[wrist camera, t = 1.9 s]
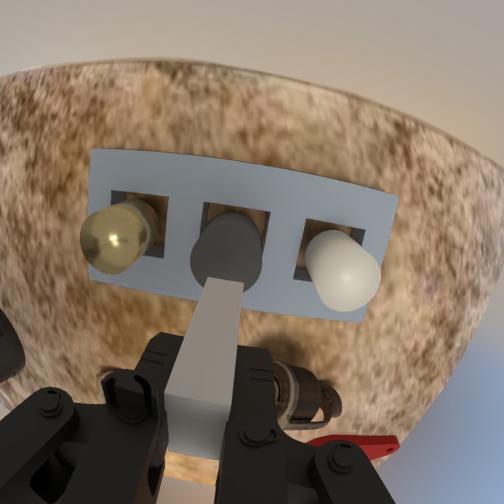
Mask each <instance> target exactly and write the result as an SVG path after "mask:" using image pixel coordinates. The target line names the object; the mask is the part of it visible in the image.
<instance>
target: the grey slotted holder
mask: <svg viewBox="0 0 504 504" xmlns="http://www.w3.org/2000/svg"><path fill="white" fill-rule="evenodd" d="M125 192H134V193H143V194H151V195H159V196H167V197H169V201H168V211H167V222H166V234H165V247H164V246H158V245H152V246H151V247H150V248H149V249H148V250H147V251H146V252H145V253H144V254H143V255H142V256H140V257H139V258H138V259H137V260H136V261H135V262H134V263H133V264H132V265H131V266H130V267H129V268H128V269H127V270H125V271H124V272H122V273H120V274H116V275H108V274H104V273H101V272H99V271H98V270H96V269H95V268H93V267H92V266H91V265H90V264H89V262H88V270H89V279H90V280H94V281H99V282H103V283H107V284H112V285H116V286H121V287H126V288H130V289H135V290H140V291H145V292H150V293H155V294H160V295H165V296H171V297H176V298H181V299H187V300H193V301H199V298H200V296H201V293H202V291H203V287H202V286H201V285H200V284H199V283H198V282H197V281H196V279H195V278H194V276H193V273H192V271H191V267H190V255H191V251H192V248H193V246H194V244H195V243H196V241H197V240H198V238H199V237H200V236H201V234H202V233H203V231H204V230H205V226H206V218H207V211H208V203H209V202H211V203H218V204H225V205H231V206H238V207H244V208H250V209H256V210H263V211H268V213H267V218H266V224H265V229H264V235H263V241H262V246H261V252H262V270H261V274H260V276H259V278H258V280H257V282H256V283H255V284H254V285H253V286H252V287H251V288H250V289H249V290H247V291H245V292H244V293H243V295H242V305H241V308H242V309H249V310H256V311H263V312H270V313H278V314H286V315H294V316H302V317H311V318H320V319H329V320H339V321H350V322H361V323H362V321H363V318H364V316H365V313H366V310H367V307H368V304H369V302H370V301H369V302H368V303H367V304H365V305H364V306H362V307H361V308H359V309H356V310H353V311H349V312H340V311H335V310H333V309H331V308H329V307H327V306H326V305H325V304H324V303H323V302H322V300H321V298H320V296H319V294H318V292H317V290H316V287H315V285H314V283H313V281H312V279H311V277H310V274H309V272H308V270H307V269H304V268H297V267H296V263H297V258H298V254H299V249H300V245H301V240H302V235H303V231H304V226H305V221H306V218H308V219H314V220H319V221H324V222H329V223H335V224H340V225H345V226H350V227H353V229H352V233H351V238H352V239H353V240H354V241H356V242H357V243H358V244H359V245H360V246H361V247H362V248H364V249H365V250H366V251H367V252H368V253H369V254H370V255H371V256H372V257H373V258H374V259H375V260H376V261H377V263H378V265H379V268H381V265H382V262H383V258H384V255H385V251H386V248H387V244H388V241H389V237H390V233H391V229H392V225H393V221H394V217H395V213H396V209H397V205H398V200H399V196H397V195H394V194H390V193H387V192H384V191H380V190H376V189H372V188H369V187H365V186H361V185H357V184H353V183H349V182H344V181H340V180H336V179H331V178H327V177H322V176H318V175H313V174H308V173H303V172H298V171H293V170H288V169H283V168H277V167H272V166H266V165H260V164H254V163H247V162H241V161H234V160H227V159H220V158H212V157H204V156H196V155H187V154H177V153H167V152H155V151H142V150H126V149H92V152H91V162H90V173H89V188H88V213H87V217H88V216H90V215H91V214H92V213H94V212H97V211H99V210H102V209H104V208H107V207H109V206H112V205H114V204H117V203H120V202H122V201H125Z"/></svg>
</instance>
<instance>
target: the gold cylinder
mask: <svg viewBox="0 0 504 504" xmlns="http://www.w3.org/2000/svg"><path fill="white" fill-rule="evenodd" d="M158 235H159V220H158V217H157V214H156V212H155V211H154V209H153V208H152V207H151V206H150V205H149V204H148V203H146V202H144V201H142V200H140V199H128V200H125V201H122V202H120V203H117V204H114V205H112V206H109V207H107V208H104V209H102V210H99V211H97V212H94V213H92V214H91V215H90V216H88V217H87V219H86V220H85V221H84V223H83V225H82V228H81V232H80V245H81V249H82V252H83V254H84V256H85V258H86V260H87V261H88V262H89V264H90V265H91V266H92V267H93V268H95V269H96V270H98V271H99V272H101V273H104V274H108V275H116V274H120V273H122V272H124V271H125V270H127V269H128V268H129V267H130V266H131V265H132V264H133V263H134V262H135V261H136V260H137V259H138V258H139V257H140V256H142V255H143V254H144V253H145V252H146V251H147V250H148V249H149V248H150V247H151V246H152V245H153V244H154V243H155V241H156V240H157V238H158Z"/></svg>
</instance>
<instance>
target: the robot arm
mask: <svg viewBox="0 0 504 504" xmlns="http://www.w3.org/2000/svg"><path fill="white" fill-rule="evenodd" d="M243 286H244V283H241V282H235V281H229V280H223V279H217V278H211V277H208V278H207V281H206V283H205V286H204V288H203V291H202V293H201V296H200V298H199V301H198V303H197V306H196V309H195V311H194V314H193V316H192V319H191V321H190V324H189V327H188V329H187V332H186V335H185V337H183V336H178V335H173V334H168V333H164V332H160V333H159V334H157V335H156V336H154V337H153V338H152V339H150V341H149V343H148V345H147V347H146V349H145V352H143V354H142V356H141V359H140V360H139V362H138V364H137V366H136V368H135V370H129V369H123V370H116V371H114V372H112V373H109V374H107V375H106V376H105V377H104V378H103V379H102V380H101V385H102V389H103V393H104V397H105V401H106V403H104V404H84V403H74V402H73V400H72V397H71V396H70V395H69V394H68V393H67V392H66V391H64V390H62V389H59V388H54V387H46V388H41V389H39V390H38V391H36V392H34V393H33V394H32V395H30V396H29V397H28V398H27V399H26V400H24V401H23V402H22V403H21V404H20V405H18V406H17V407H16V408H15V409H14V410H12V411H11V412H10V413H9V414H8V415H6V416H5V417H4V418H3V419H2V420H1V421H0V504H156V501H157V497H158V493H159V489H160V485H161V481H162V477H163V473H164V469H165V458H164V457H165V453H166V450H167V446H168V451H171V452H175V453H180V454H185V455H190V456H195V457H201V458H207V459H213V460H220V461H219V470H218V475H217V480H216V485H215V486H216V490H215V499H214V504H395V502H394V500H393V499H392V497H391V495H390V494H389V492H388V490H387V489H386V487H385V485H384V484H383V482H382V480H381V479H380V477H379V475H378V473H377V472H376V470H375V468H374V467H373V465H372V463H371V462H370V460H369V458H368V457H367V455H366V453H365V452H364V451H363V450H362V449H361V448H360V447H359V446H358V445H356V444H354V443H353V442H350V441H346V440H342V439H341V440H331V441H328V442H326V443H324V444H322V445H321V447H317V446H314V445H310V444H307V443H303V442H300V441H297V440H295V439H293V438H291V437H290V436H288V435H287V434H286V433H285V432H284V431H283V430H282V429H281V427H280V426H279V424H278V420H277V412H276V396H275V383H274V365H273V359H272V357H271V355H270V354H269V352H268V351H267V349H263V348H255V347H248V346H241V345H237V343H238V334H239V324H240V314H241V305H242V295H243ZM24 366H25V354H24V350H23V347H22V344H21V342H20V339H19V337H18V335H17V333H16V331H15V329H14V328H13V326H12V324H11V323H10V321H9V320H8V318H7V317H6V315H5V314H4V313H3V311H2V310H1V309H0V383H1V382H3V381H5V380H7V379H9V378H10V377H14V376H16V375H17V374H18V373H19V372H20V371H21V370H22V369H23V368H24Z"/></svg>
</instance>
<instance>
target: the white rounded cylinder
mask: <svg viewBox="0 0 504 504" xmlns="http://www.w3.org/2000/svg"><path fill="white" fill-rule="evenodd" d="M305 265H306V268H307V270H308V272H309V274H310V277H311V279H312V281H313V283H314V285H315V287H316V290H317V292H318V294H319V296H320V298H321V300H322V302H323V303H324V304H325V305H326V306H327V307H329V308H331V309H333V310H335V311H340V312H349V311H353V310H356V309H359V308H361V307H362V306H364V305H365V304H367V303H368V302H369V301H370V300H371V299H372V298H373V296H374V295H375V294H376V292H377V290H378V287H379V284H380V279H381V273H380V268H379V265H378V263H377V261H376V260H375V259H374V258H373V257H372V256H371V255H370V254H369V253H368V252H367V251H366V250H365V249H364V248H362V247H361V246H360V245H359V244H358V243H357V242H356V241H354V240H353V239H352V238H351V237H350V236H349V235H347V234H346V233H344V232H342V231H338V230H328V231H324V232H322V233H320V234H318V235H317V236H315V237H314V238H313V239H312V240H311V241H310V243H309V244H308V246H307V248H306V252H305Z"/></svg>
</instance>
